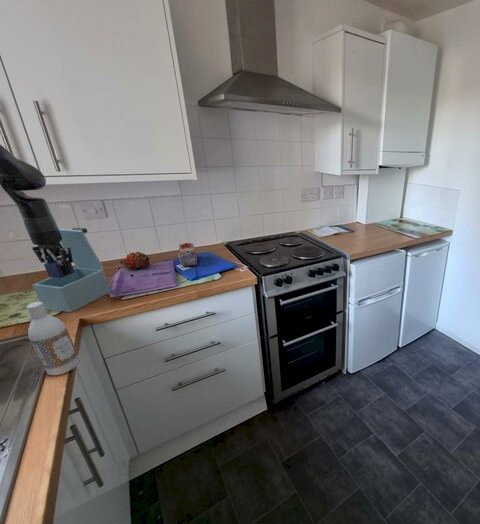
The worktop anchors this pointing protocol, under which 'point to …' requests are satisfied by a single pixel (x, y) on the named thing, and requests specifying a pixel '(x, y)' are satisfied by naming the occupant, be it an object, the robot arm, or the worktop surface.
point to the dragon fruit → (135, 260)
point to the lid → (80, 248)
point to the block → (56, 269)
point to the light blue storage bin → (72, 289)
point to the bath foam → (51, 341)
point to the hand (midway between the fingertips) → (61, 273)
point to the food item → (187, 254)
